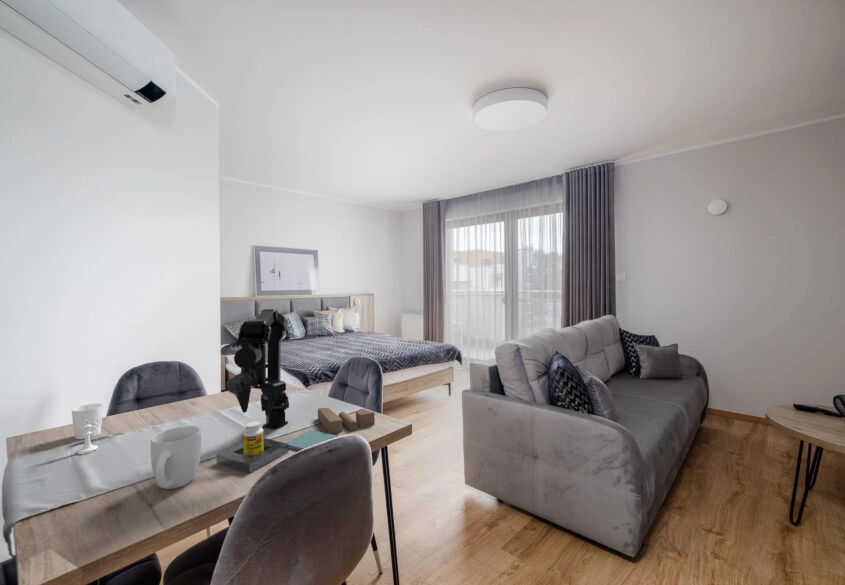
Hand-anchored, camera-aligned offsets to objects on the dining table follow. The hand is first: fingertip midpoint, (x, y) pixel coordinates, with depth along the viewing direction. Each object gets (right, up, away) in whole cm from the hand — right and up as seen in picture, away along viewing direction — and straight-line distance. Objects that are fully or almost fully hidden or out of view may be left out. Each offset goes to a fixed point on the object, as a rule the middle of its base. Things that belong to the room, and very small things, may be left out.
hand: (255, 413), depth 108 cm
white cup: (-67, -14, +17) cm, 71 cm away
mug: (-14, -14, -14) cm, 25 cm away
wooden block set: (+21, -13, +28) cm, 37 cm away
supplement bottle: (-1, -14, 0) cm, 14 cm away
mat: (+14, -13, +10) cm, 21 cm away
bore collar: (-1, -13, 0) cm, 13 cm away
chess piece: (-56, -14, +6) cm, 58 cm away
